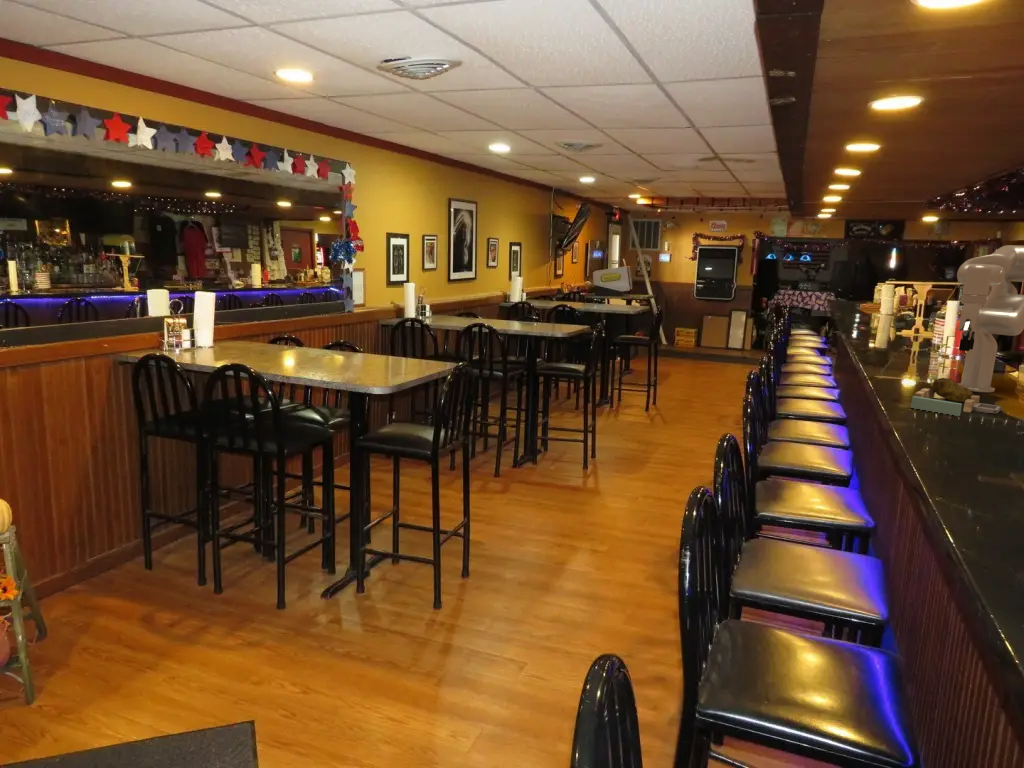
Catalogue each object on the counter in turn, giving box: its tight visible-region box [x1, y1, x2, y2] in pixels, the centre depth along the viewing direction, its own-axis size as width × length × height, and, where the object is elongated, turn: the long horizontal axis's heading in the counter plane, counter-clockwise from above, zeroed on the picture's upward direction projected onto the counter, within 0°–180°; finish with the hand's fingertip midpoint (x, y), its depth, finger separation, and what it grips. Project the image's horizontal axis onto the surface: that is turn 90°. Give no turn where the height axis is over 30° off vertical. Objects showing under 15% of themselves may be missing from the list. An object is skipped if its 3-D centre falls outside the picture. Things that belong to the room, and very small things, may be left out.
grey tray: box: [972, 402, 1002, 415], centre depth 233 cm, size 9×6×2 cm
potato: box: [932, 377, 974, 403], centre depth 246 cm, size 8×13×8 cm, turn 64°
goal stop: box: [910, 395, 963, 417], centre depth 228 cm, size 2×14×4 cm, turn 48°
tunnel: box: [913, 387, 981, 413], centre depth 240 cm, size 14×17×4 cm
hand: (965, 349), depth 252 cm, fingers open, 5 cm apart
